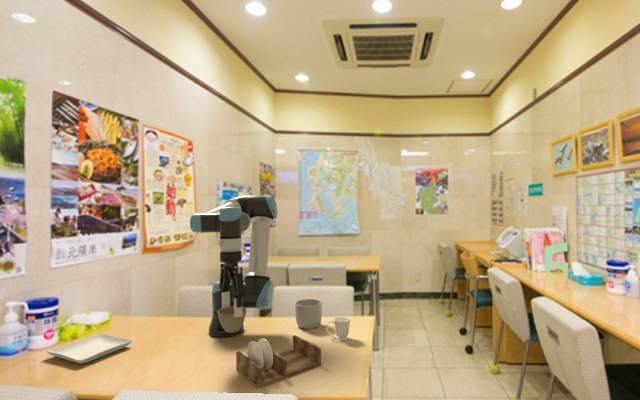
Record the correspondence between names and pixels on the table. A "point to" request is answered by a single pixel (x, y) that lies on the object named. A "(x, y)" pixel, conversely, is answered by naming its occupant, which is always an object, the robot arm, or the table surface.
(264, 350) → the plates
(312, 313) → the planter
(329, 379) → the table surface
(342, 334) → the cup
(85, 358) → the salad plate
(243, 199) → the robot arm
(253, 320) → the table surface
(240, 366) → the rack
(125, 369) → the table surface
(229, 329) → the flower pot
